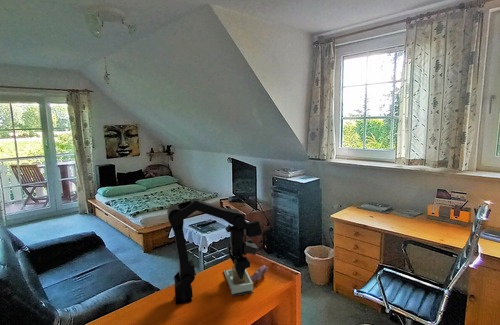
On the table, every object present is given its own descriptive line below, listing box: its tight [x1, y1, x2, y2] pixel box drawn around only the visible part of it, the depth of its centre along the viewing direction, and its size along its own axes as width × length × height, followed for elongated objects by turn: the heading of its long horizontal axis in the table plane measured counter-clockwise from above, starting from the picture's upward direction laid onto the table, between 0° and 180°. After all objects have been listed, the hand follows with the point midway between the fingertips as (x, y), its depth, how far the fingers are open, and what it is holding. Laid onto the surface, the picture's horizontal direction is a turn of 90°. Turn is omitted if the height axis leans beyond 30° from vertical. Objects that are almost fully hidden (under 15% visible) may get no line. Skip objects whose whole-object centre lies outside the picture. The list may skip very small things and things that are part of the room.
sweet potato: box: [249, 264, 269, 283], centre depth 133 cm, size 10×5×7 cm, turn 146°
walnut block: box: [231, 265, 245, 285], centre depth 128 cm, size 4×4×6 cm
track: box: [223, 268, 254, 298], centre depth 132 cm, size 9×20×1 cm, turn 15°
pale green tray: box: [225, 268, 254, 295], centre depth 128 cm, size 9×14×4 cm, turn 15°
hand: (238, 273), depth 128 cm, fingers open, 9 cm apart
